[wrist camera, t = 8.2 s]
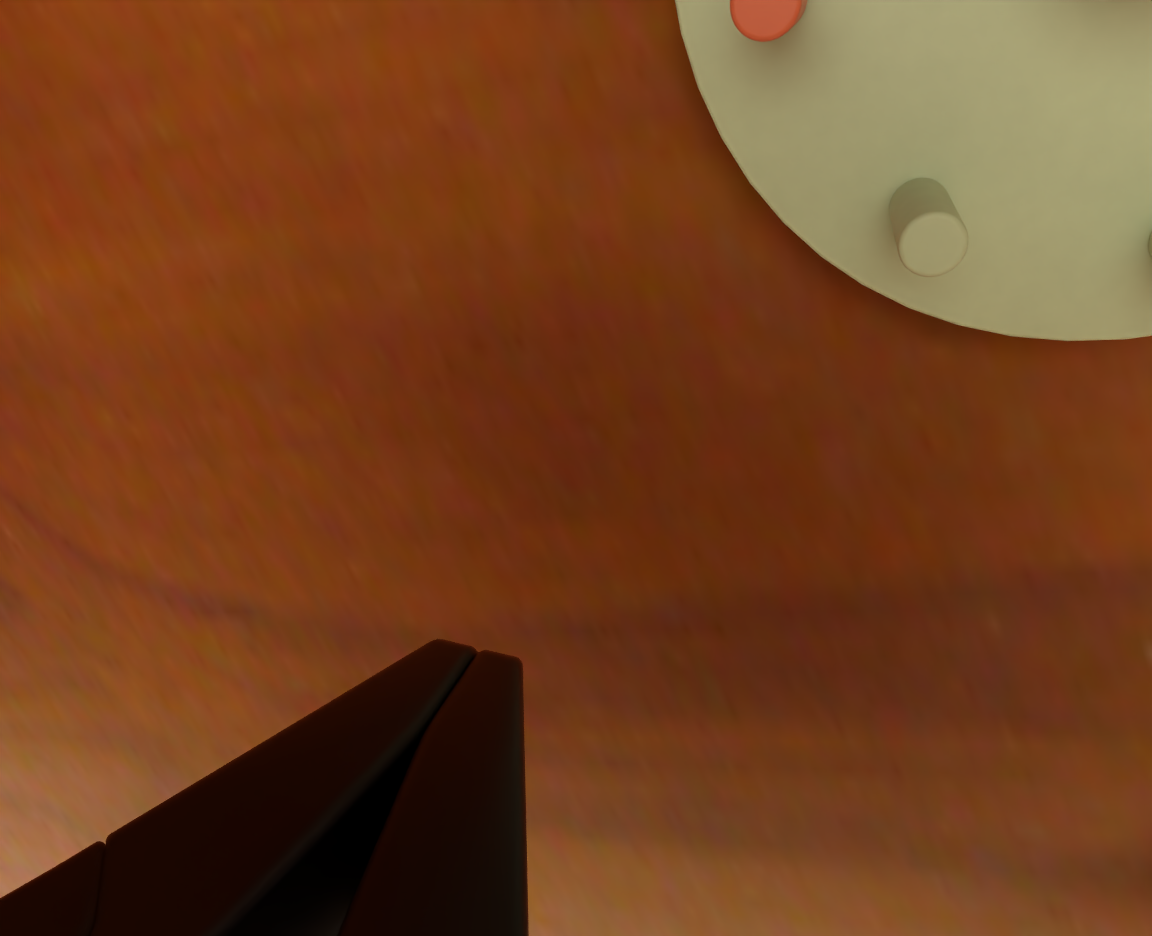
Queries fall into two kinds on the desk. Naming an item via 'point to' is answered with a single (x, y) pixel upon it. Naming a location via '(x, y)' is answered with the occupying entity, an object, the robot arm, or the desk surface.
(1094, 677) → the desk surface
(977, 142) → the pegged crank wheel
